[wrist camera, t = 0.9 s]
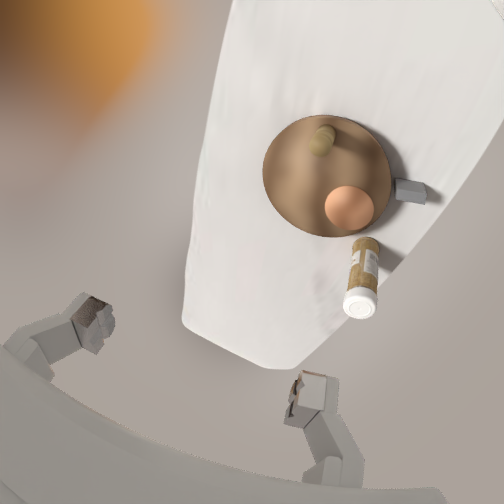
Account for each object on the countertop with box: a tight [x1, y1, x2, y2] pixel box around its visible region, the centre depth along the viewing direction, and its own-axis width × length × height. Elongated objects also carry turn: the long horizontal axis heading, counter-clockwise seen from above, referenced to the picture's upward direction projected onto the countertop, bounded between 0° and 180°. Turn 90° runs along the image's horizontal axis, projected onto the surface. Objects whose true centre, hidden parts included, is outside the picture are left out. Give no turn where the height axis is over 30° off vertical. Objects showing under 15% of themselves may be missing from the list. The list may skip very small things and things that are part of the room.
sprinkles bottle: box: [343, 237, 379, 319], centre depth 41 cm, size 5×5×13 cm
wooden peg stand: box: [263, 115, 391, 237], centre depth 37 cm, size 18×18×8 cm
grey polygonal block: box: [394, 178, 427, 205], centre depth 36 cm, size 4×2×4 cm, turn 95°
